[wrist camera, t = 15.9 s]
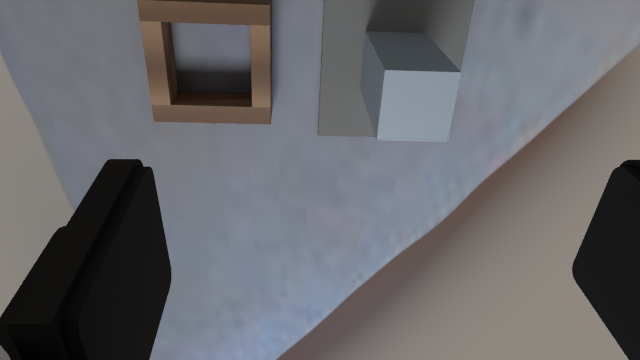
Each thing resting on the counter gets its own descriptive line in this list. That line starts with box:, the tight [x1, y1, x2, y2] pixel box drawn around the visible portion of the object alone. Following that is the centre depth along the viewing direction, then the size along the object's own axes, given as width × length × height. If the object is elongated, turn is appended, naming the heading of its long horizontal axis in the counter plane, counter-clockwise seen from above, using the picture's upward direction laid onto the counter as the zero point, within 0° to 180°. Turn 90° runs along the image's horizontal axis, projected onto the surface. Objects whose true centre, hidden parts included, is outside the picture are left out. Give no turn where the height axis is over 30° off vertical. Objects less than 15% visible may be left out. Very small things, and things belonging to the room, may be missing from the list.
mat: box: [318, 0, 474, 137], centre depth 41 cm, size 14×12×1 cm
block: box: [360, 31, 461, 142], centre depth 37 cm, size 5×5×10 cm
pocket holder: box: [137, 0, 272, 124], centre depth 39 cm, size 10×10×3 cm
